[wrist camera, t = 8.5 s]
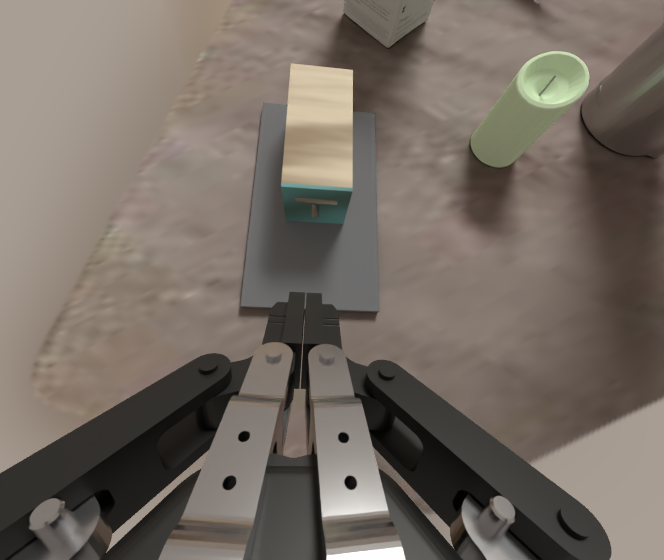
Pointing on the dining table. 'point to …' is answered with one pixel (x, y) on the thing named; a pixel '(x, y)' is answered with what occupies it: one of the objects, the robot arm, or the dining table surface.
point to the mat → (312, 230)
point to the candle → (529, 106)
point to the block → (318, 145)
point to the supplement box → (388, 17)
